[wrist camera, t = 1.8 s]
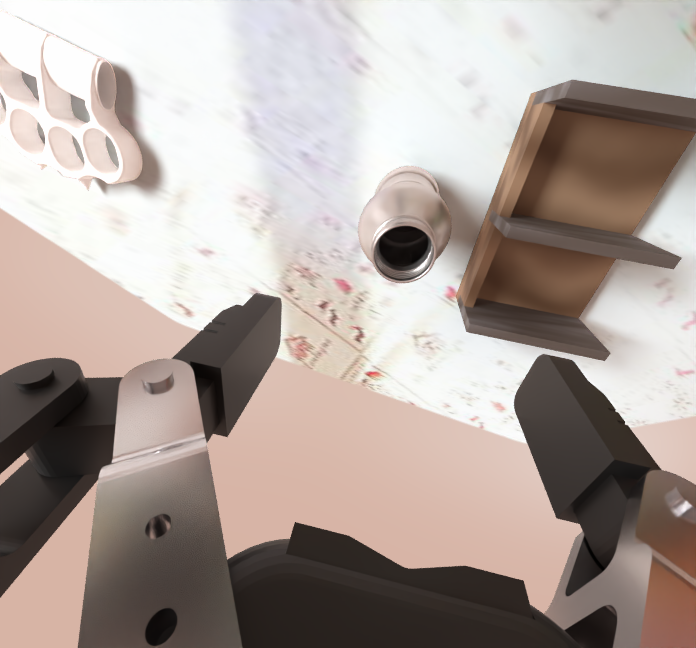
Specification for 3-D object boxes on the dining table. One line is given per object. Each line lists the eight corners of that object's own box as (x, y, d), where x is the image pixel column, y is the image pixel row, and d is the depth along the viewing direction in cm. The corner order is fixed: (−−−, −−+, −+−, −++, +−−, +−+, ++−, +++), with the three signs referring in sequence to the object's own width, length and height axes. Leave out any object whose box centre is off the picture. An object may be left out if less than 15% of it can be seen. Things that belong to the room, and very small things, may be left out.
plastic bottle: (441, 218, 35) (471, 294, 18) (382, 232, 37) (361, 313, 20) (432, 155, 32) (460, 177, 15) (369, 174, 34) (331, 212, 17)
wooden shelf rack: (531, 93, 29) (572, 79, 21) (691, 119, 28) (790, 113, 21) (456, 296, 40) (466, 331, 33) (568, 319, 39) (604, 360, 32)
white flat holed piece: (147, 77, 33) (143, 208, 41) (-21, -4, 32) (8, 148, 40) (123, 72, 30) (124, 214, 38) (-62, -17, 29) (-23, 148, 37)
